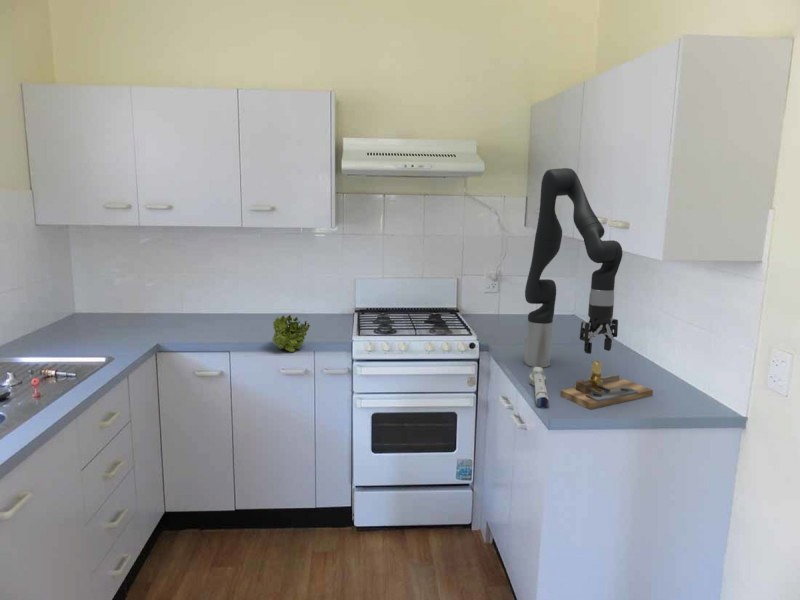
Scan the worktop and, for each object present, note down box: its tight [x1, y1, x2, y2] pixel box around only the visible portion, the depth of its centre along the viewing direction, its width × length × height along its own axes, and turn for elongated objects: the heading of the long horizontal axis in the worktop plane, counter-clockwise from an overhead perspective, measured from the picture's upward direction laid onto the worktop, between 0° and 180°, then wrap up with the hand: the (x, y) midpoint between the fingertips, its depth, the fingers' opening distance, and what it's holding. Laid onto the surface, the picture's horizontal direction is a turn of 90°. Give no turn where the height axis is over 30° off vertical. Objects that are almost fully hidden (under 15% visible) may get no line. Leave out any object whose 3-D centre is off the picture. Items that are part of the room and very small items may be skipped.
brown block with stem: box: [575, 379, 599, 394], centre depth 183 cm, size 8×3×3 cm, turn 27°
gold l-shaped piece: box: [587, 360, 610, 392], centre depth 185 cm, size 8×3×9 cm, turn 27°
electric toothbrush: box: [529, 367, 550, 408], centre depth 188 cm, size 5×7×25 cm
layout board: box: [560, 374, 654, 410], centre depth 186 cm, size 13×28×4 cm, turn 117°
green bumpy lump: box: [271, 314, 311, 353], centre depth 235 cm, size 18×16×16 cm
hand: (597, 351), depth 185 cm, fingers open, 8 cm apart
